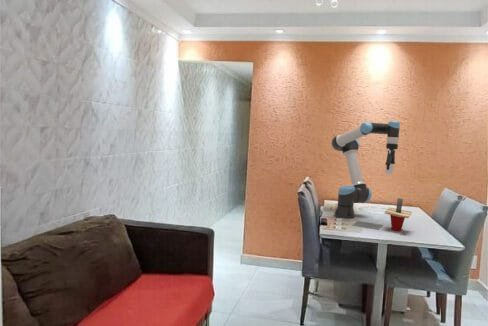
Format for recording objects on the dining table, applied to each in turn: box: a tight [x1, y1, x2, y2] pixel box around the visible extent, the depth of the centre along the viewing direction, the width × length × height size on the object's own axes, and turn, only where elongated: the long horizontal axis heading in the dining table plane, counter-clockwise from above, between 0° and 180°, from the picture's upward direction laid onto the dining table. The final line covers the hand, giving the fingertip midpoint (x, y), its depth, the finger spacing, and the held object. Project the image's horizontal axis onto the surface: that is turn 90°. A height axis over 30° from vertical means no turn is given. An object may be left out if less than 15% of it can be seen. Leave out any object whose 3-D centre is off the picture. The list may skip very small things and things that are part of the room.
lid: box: [384, 197, 413, 219], centre depth 281 cm, size 15×15×10 cm
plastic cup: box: [389, 215, 406, 232], centre depth 282 cm, size 11×11×12 cm
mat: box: [351, 220, 384, 231], centre depth 292 cm, size 18×18×1 cm
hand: (389, 173), depth 295 cm, fingers open, 13 cm apart
